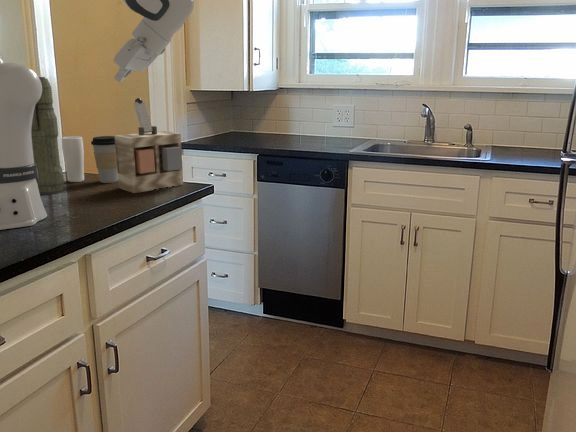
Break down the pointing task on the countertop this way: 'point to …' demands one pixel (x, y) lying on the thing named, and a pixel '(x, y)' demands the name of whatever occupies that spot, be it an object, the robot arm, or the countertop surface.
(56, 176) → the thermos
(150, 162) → the key terracotta
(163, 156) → the key charcoal
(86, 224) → the countertop surface
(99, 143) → the coffee cup
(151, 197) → the countertop surface
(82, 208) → the countertop surface
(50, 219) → the countertop surface
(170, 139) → the console
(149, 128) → the toggle lever
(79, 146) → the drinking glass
